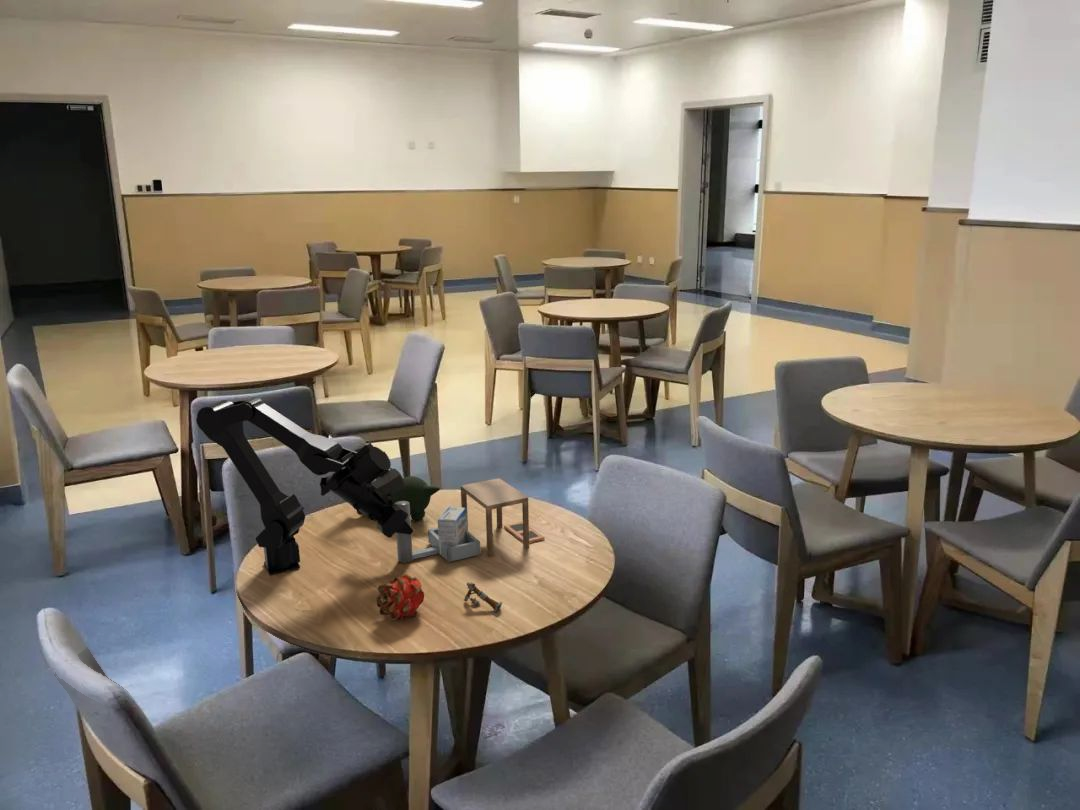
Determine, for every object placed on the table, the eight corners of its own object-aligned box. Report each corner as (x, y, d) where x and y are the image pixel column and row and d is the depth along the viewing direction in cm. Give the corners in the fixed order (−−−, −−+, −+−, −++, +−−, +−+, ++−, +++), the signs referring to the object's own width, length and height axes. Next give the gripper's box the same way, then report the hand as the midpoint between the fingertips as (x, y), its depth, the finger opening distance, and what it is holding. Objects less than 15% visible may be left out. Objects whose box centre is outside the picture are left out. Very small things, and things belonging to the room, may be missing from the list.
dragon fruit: (383, 638, 151) (411, 615, 162) (418, 617, 148) (443, 595, 160) (359, 599, 151) (388, 579, 163) (393, 577, 149) (420, 558, 160)
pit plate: (525, 544, 186) (525, 541, 186) (504, 527, 196) (504, 525, 196) (544, 539, 189) (544, 536, 189) (522, 523, 198) (522, 520, 198)
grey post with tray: (407, 571, 173) (404, 514, 170) (389, 550, 183) (385, 496, 180) (480, 554, 181) (478, 499, 177) (459, 535, 191) (456, 482, 188)
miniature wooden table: (489, 556, 180) (487, 505, 177) (462, 533, 193) (460, 485, 190) (529, 547, 185) (528, 497, 182) (500, 524, 197) (499, 478, 194)
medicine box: (458, 557, 180) (456, 520, 178) (439, 555, 181) (437, 519, 179) (468, 542, 187) (467, 507, 185) (449, 541, 188) (448, 505, 186)
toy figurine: (343, 527, 202) (436, 528, 195) (331, 454, 198) (426, 452, 190) (361, 513, 211) (451, 513, 203) (350, 442, 206) (441, 440, 199)
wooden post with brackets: (463, 595, 162) (470, 578, 160) (495, 618, 159) (503, 601, 157) (458, 599, 160) (465, 581, 158) (490, 622, 157) (498, 605, 155)
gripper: (395, 473, 163) (449, 514, 171) (367, 449, 179) (417, 487, 187) (359, 517, 161) (415, 557, 169) (334, 489, 177) (386, 526, 185)
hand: (409, 529), depth 178 cm, fingers closed on grey post with tray, 3 cm apart
